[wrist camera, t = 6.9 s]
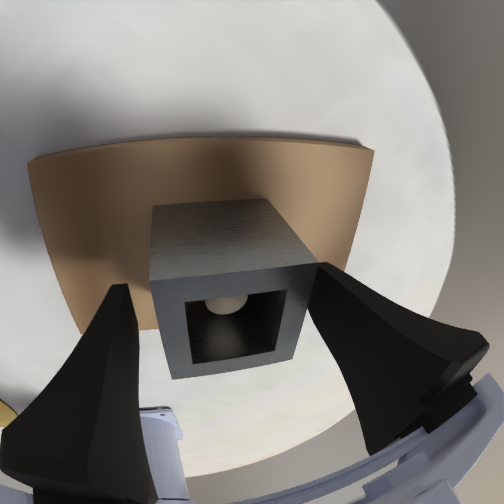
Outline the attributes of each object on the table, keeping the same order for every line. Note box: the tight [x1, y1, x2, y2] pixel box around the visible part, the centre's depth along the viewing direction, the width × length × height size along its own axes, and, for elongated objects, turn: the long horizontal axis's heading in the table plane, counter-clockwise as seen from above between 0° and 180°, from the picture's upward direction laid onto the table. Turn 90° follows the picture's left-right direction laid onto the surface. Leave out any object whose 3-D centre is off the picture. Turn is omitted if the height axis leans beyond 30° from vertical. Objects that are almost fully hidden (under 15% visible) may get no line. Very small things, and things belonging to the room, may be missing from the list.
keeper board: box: [27, 137, 374, 334], centre depth 12 cm, size 16×10×4 cm, turn 85°
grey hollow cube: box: [149, 199, 319, 379], centre depth 11 cm, size 5×5×5 cm
